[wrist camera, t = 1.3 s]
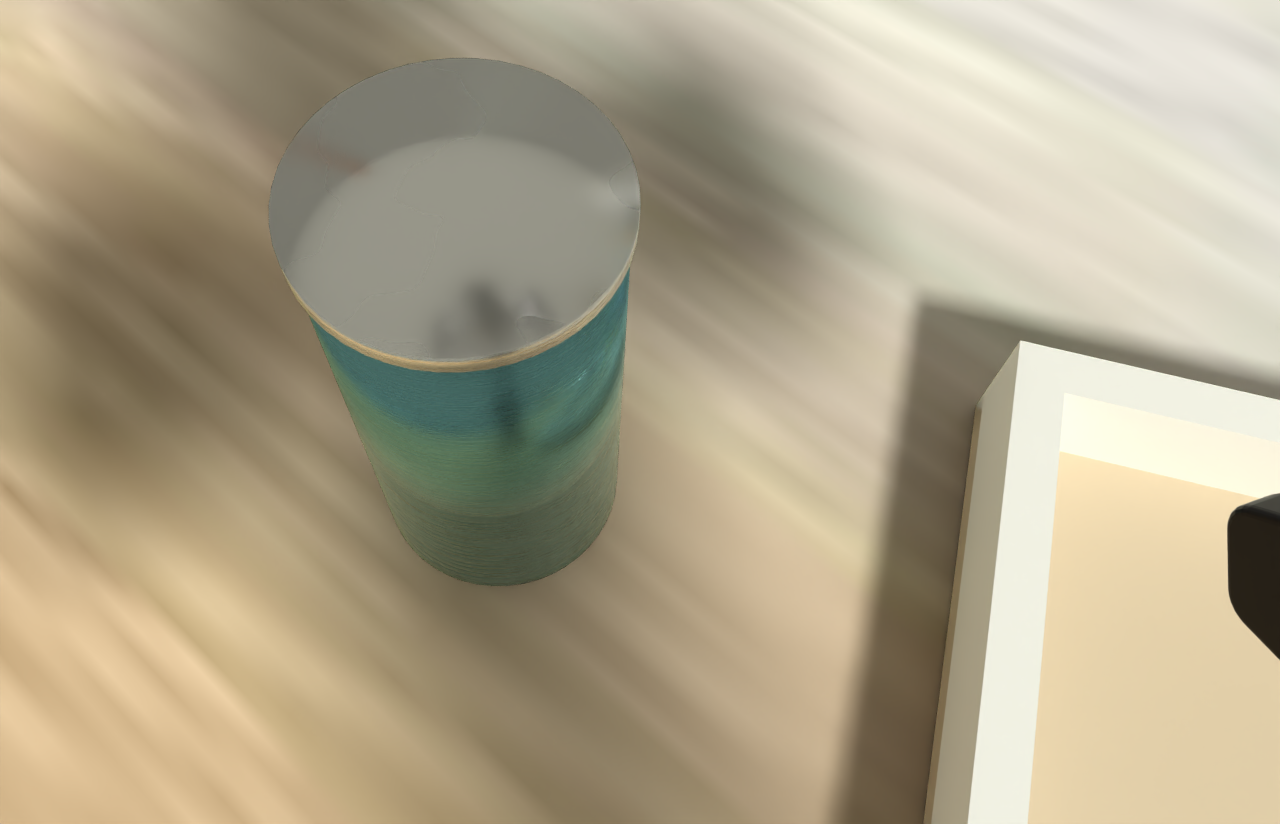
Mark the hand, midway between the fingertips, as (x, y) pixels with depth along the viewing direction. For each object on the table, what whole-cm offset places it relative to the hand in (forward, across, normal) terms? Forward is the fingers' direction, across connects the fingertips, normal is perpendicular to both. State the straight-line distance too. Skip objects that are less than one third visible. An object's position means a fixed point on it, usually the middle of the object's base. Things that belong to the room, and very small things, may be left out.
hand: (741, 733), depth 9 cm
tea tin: (+16, 0, +4) cm, 17 cm away
